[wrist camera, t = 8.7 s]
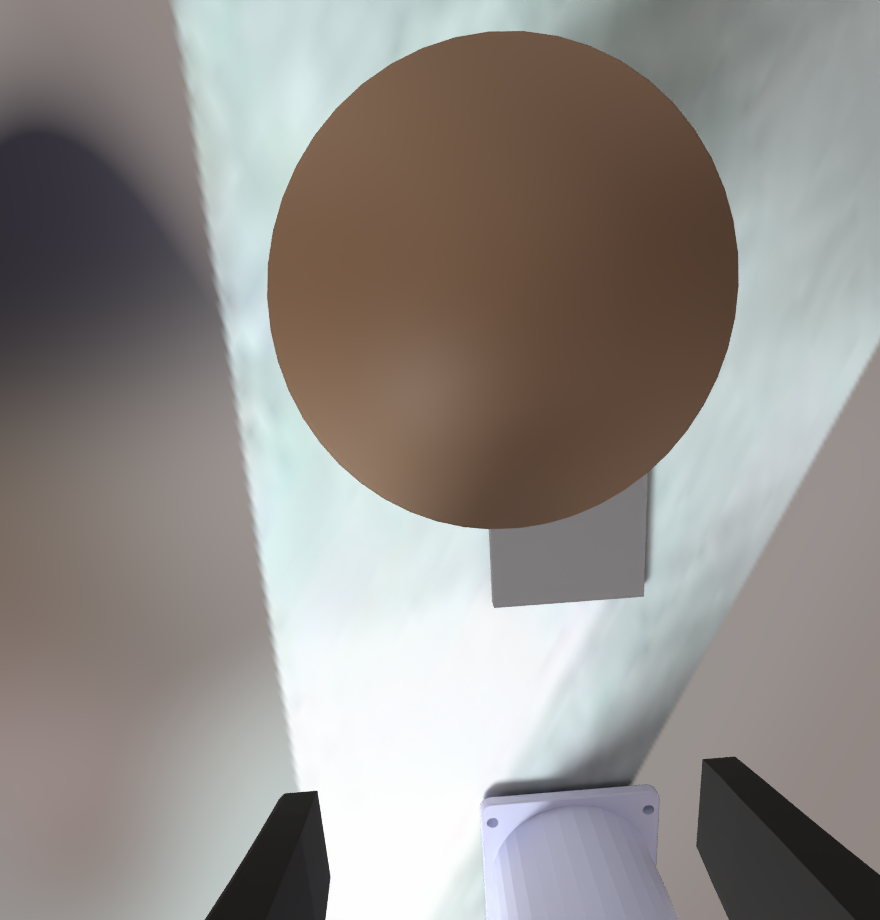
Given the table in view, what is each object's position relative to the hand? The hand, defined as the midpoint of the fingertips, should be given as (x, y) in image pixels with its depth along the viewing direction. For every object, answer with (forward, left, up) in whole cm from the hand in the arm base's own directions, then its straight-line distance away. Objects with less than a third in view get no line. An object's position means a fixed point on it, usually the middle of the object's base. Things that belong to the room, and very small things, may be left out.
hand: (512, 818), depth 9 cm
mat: (+2, -4, -10) cm, 11 cm away
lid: (+9, 0, -2) cm, 9 cm away
